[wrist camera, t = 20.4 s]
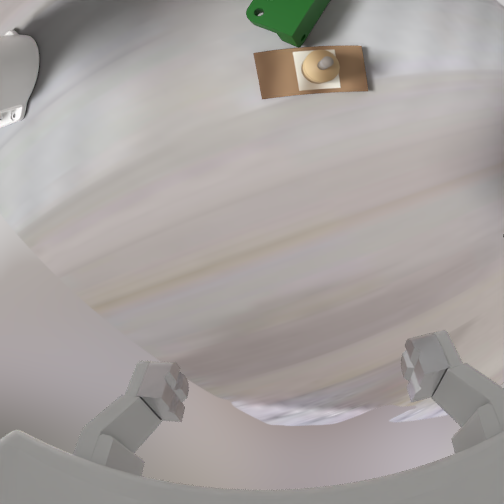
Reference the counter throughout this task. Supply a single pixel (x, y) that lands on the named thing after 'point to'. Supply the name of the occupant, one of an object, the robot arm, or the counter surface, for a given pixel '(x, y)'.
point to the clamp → (287, 17)
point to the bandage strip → (292, 80)
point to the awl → (320, 66)
